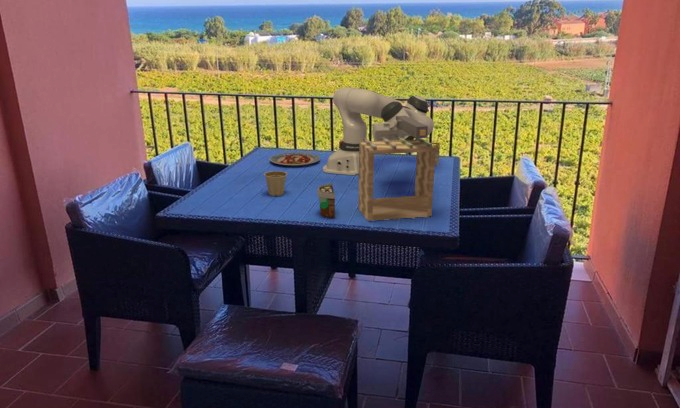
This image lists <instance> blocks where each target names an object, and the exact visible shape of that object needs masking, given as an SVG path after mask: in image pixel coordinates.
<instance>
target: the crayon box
mask: <svg viewBox="0 0 680 408" xmlns="http://www.w3.org/2000/svg"><path fill="white" fill-rule="evenodd" d="M430 143H431V144H432V145H433V146H435V147H436V154H435V166H439V163H440V149H441V147H440V146H441V142H430Z"/></svg>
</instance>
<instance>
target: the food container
mask: <svg viewBox="0 0 680 408" xmlns="http://www.w3.org/2000/svg"><path fill="white" fill-rule="evenodd" d="M333 184H334V183H327V184H322V185H319V186H318V188H317V190H316V191H317V192H316V195H317V196H318V202H319V203H318V204H319V213H320V214H319V215H320V216H321V217H323V218H326V217H327V218H328V219H335V218H336V215H335V214H336V213H335V212H336V210H335V209H336V207H335V206H336V205H335V204H336V192H334V188H333V187H334V185H333Z"/></svg>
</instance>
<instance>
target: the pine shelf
mask: <svg viewBox="0 0 680 408" xmlns="http://www.w3.org/2000/svg"><path fill="white" fill-rule="evenodd" d="M431 143H432V142H429V141H428V140H425V138H414V139H413V140H404V139H403V138H401V137H397V140H390V141H389V140H387V139H386V138H382V141H374V140H372V141H371V140H369V139H368V138H367V139H366V138H363V142H359V174H358V204H357V205H358V207H357V208H358V211H359V212H360V211H361V212H362V213H361V212H360V213H361V215H362V216H363V215H364V216H365V217H364V216H363V217H364V219H365V220H366V219H367V220H368V221H372V220H384V219H385V221H387V220H386V219H398V220H402V219H401V218H412V219H416V218H415V217H425V218H430V217H429V216H431V217H432V213H433V200H434V197H433V195H434V182H435V171H436V170H435V168H436V167H435V166H436V165H435V154H436V147H435V146H433V145H434V144H431ZM412 153H416V160H415V161H416V163H415V179H414V180H415V182H414V184H415V185H414V195H408V196H396V197H395V196H394V197H382V198H381V197H378V198H377V197H376V198H374V174H375V173H374V171H375V170H374V169H375V168H374V167H375V166H374V165H375V163H374V162H375V155H390V154H412ZM399 218H400V219H399ZM367 220H366V221H367ZM368 221H367V222H368ZM372 222H373V221H372Z"/></svg>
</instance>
